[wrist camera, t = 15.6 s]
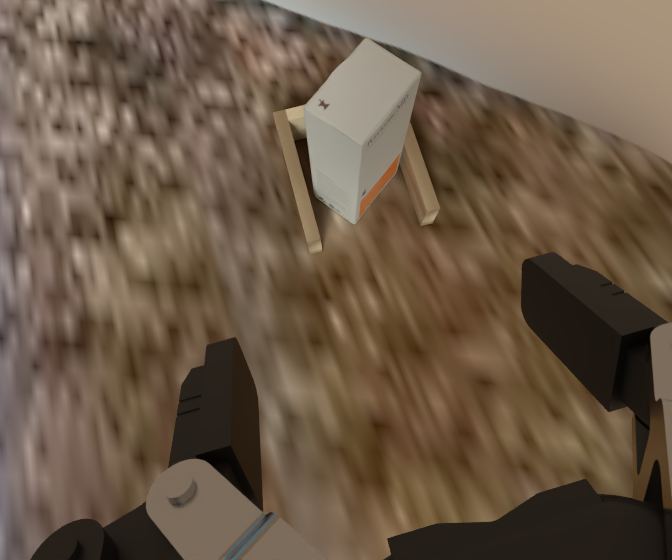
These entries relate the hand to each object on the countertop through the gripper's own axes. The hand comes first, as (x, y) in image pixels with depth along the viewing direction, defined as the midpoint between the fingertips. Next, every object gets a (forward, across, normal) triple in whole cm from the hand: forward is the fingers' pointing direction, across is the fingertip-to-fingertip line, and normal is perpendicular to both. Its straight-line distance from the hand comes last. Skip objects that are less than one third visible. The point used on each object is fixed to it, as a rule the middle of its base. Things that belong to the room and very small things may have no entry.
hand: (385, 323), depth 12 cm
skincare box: (+25, -4, +6) cm, 26 cm away
